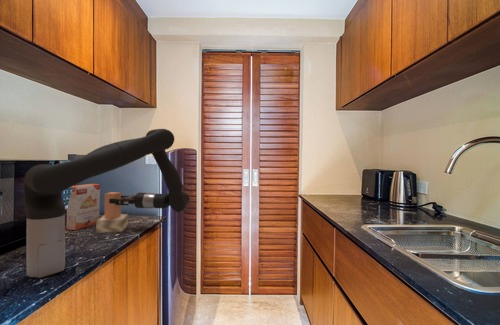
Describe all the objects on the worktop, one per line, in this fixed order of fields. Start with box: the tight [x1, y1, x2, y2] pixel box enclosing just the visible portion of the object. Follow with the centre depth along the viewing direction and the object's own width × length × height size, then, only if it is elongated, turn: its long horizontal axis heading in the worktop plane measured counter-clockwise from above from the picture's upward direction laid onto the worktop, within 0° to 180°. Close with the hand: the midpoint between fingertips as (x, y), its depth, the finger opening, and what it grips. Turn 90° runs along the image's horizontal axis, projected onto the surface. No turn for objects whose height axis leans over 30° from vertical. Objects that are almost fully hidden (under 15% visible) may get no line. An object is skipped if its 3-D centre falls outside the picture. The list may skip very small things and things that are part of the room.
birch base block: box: [95, 213, 129, 234], centre depth 120 cm, size 11×11×6 cm
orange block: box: [104, 191, 122, 219], centre depth 119 cm, size 5×5×12 cm
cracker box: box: [65, 183, 101, 231], centre depth 122 cm, size 14×6×21 cm, turn 168°
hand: (115, 199), depth 119 cm, fingers open, 8 cm apart
